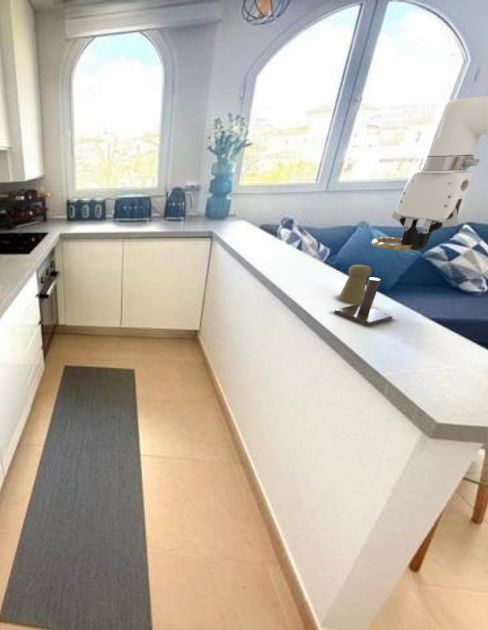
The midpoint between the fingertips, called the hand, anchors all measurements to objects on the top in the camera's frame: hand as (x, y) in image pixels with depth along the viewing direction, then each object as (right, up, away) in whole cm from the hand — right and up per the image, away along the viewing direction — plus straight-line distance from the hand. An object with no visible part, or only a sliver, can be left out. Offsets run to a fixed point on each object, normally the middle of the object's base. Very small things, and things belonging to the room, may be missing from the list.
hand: (411, 247), depth 82 cm
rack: (+1, -17, +14) cm, 22 cm away
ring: (-1, +2, +3) cm, 4 cm away
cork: (+5, -12, +24) cm, 27 cm away
